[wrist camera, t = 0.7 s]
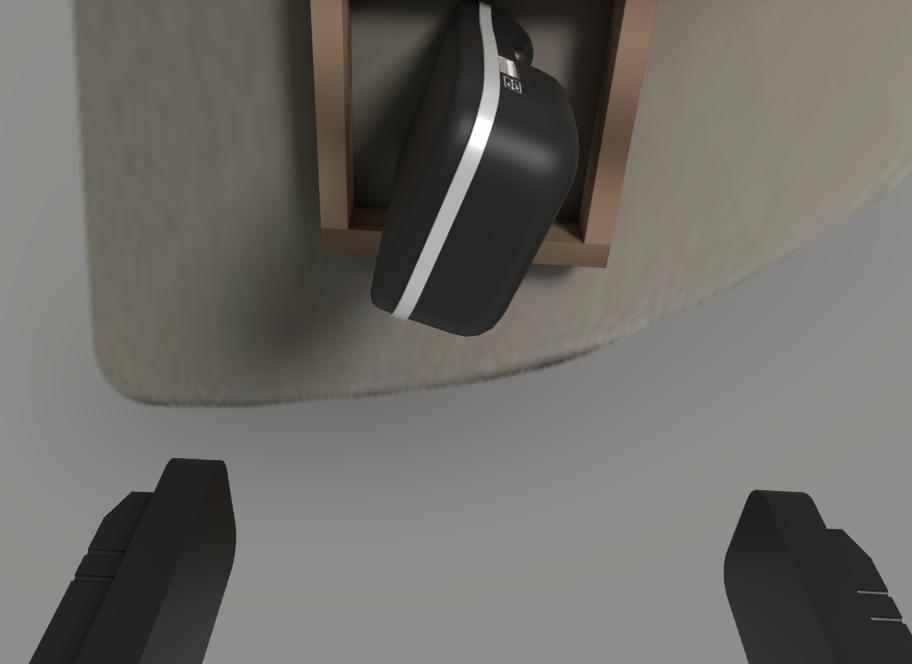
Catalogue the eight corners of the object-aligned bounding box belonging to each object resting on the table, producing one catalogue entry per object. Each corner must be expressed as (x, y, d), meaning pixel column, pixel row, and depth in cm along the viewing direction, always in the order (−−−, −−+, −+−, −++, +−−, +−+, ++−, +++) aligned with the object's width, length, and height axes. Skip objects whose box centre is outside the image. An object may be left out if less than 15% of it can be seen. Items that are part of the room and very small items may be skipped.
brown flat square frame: (318, -76, 25) (307, -68, 23) (653, -54, 25) (666, -44, 24) (330, 227, 31) (322, 251, 30) (599, 243, 31) (606, 267, 30)
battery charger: (484, 200, 30) (490, 378, 21) (394, 166, 30) (358, 334, 20) (563, 30, 27) (613, 154, 17) (462, -15, 26) (457, 90, 17)
